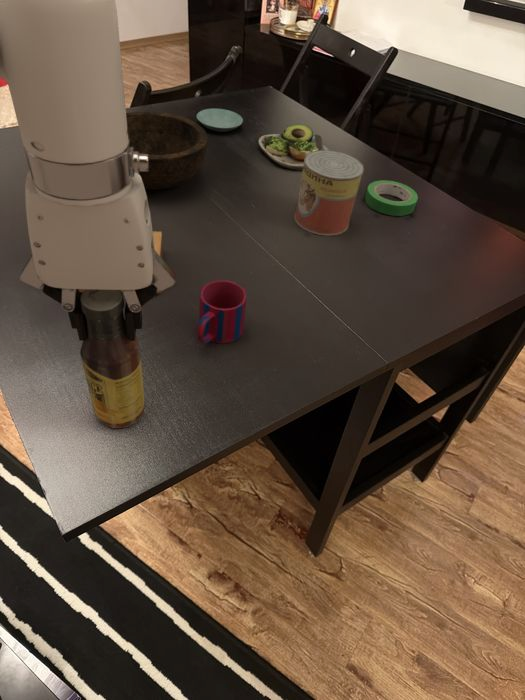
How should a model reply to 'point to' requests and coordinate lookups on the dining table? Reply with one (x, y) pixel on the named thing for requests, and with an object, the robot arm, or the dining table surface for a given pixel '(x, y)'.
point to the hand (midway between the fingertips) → (108, 330)
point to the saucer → (219, 119)
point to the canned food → (327, 192)
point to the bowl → (167, 147)
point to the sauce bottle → (111, 360)
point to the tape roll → (387, 205)
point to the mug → (221, 312)
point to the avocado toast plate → (291, 146)
